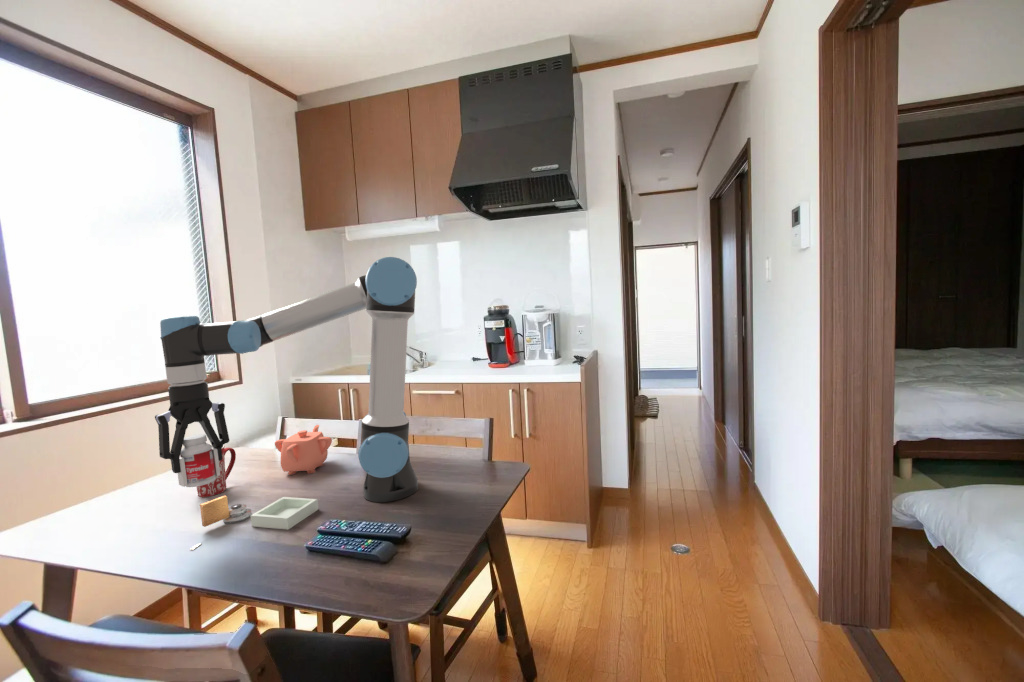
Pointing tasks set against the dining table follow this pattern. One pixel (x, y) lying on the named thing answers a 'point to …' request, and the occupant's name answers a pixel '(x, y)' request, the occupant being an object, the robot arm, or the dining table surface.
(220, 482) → the mug
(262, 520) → the tray
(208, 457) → the pill bottle
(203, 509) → the tan and grey pieces
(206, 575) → the dining table surface
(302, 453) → the pink toy figure
